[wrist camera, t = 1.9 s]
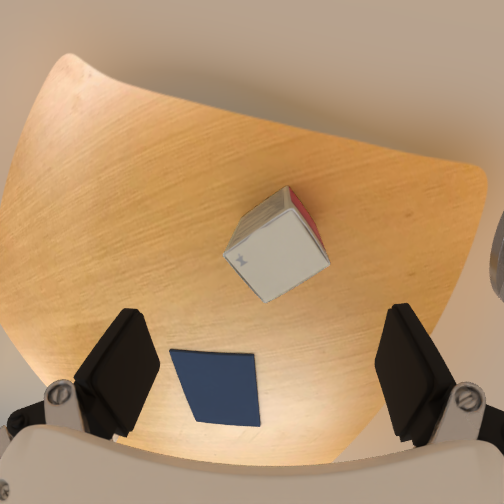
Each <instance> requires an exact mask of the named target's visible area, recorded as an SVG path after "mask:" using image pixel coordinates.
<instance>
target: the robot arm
mask: <svg viewBox="0 0 504 504" xmlns="http://www.w3.org/2000/svg"><path fill="white" fill-rule="evenodd" d="M159 368H160V361H159V358H158V355H157V353H156V350H155V348H154V345H153V342H152V339H151V336H150V334H149V331H148V328H147V325H146V322H145V319H144V316H143V314H142V313H140V312H139V310H138V309H130V308H124V309H123V310H122V311H121V312H120V313H119V315H118V316H117V317H116V319H115V320H114V321H113V322H112V324H111V325H110V326H109V328H108V329H107V330H106V332H105V333H104V334H103V336H102V337H101V339H100V340H99V341H98V343H97V344H96V345H95V347H94V348H93V350H92V351H91V352H90V354H89V355H88V357H87V358H86V359H85V361H84V362H83V364H82V365H81V367H80V368H79V369H78V371H77V372H76V374H75V375H74V379H75V382H74V383H72V382H71V381H69V380H64V379H62V380H57V381H55V382H53V383H52V384H51V385H49V386H48V388H47V389H46V391H45V393H44V400H43V401H41V402H38V403H35V404H33V405H30V406H27V407H25V408H21V409H19V410H16V411H15V412H13V413H12V414H11V415H10V417H9V418H8V421H7V427H6V426H5V425H3V426H2V427H0V504H504V411H502V410H499V409H497V408H494V407H491V406H489V405H487V404H486V397H485V393H484V392H483V390H482V389H481V388H480V387H479V386H478V385H476V384H474V383H471V382H461V383H459V384H456V382H455V380H454V378H453V377H452V375H451V373H450V371H449V369H448V367H447V366H446V364H445V362H444V360H443V358H442V357H441V355H440V353H439V351H438V350H437V348H436V346H435V345H434V343H433V341H432V340H431V338H430V337H429V335H428V333H427V332H426V330H425V329H424V327H423V325H422V324H421V322H420V321H419V319H418V317H417V316H416V314H415V313H414V311H413V310H412V308H411V307H410V305H409V304H408V303H402V304H394V305H393V306H392V308H390V309H388V312H387V316H386V320H385V324H384V328H383V332H382V336H381V340H380V344H379V347H378V351H377V354H376V358H375V369H376V372H377V375H378V378H379V382H380V385H381V388H382V391H383V394H384V398H385V401H386V404H387V408H388V411H389V415H390V418H391V422H392V425H393V429H394V432H395V435H396V436H399V437H400V440H401V442H405V441H409V440H412V442H413V445H414V447H413V449H409V450H405V451H402V452H397V453H392V454H388V455H383V456H378V457H372V458H366V459H360V460H353V461H346V462H339V463H329V464H318V465H303V466H247V465H232V464H221V463H212V462H204V461H197V460H190V459H184V458H178V457H173V456H168V455H163V454H158V453H154V452H149V451H145V450H141V449H137V448H134V447H130V446H126V445H123V444H119V443H116V442H114V441H113V438H112V437H113V435H114V433H115V434H116V435H119V436H123V437H126V438H127V435H128V433H129V432H131V431H132V430H133V429H134V426H135V424H136V422H137V419H138V417H139V415H140V412H141V410H142V407H143V405H144V403H145V401H146V398H147V396H148V394H149V391H150V389H151V387H152V385H153V382H154V380H155V378H156V375H157V373H158V371H159Z"/></svg>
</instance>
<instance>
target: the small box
mask: <svg viewBox="0 0 504 504" xmlns="http://www.w3.org/2000/svg"><path fill="white" fill-rule="evenodd" d="M223 257H224V258H225V259H226V260H227V261H228V263H229V264H230V265H231V266H232V268H233V269H234V270H235V271H236V272H237V274H238V275H239V276H240V277H241V278H242V279H243V281H244V282H245V283H246V284H247V285H248V286H249V287H250V288H251V289H252V291H253V292H254V293H255V294H256V295H257V296H258V297H259V298H260V299H261V300H262V302H264V303H268V302H270V301H272V300H273V299H275V298H277V297H279V296H281V295H283V294H284V293H286V292H288V291H289V290H291V289H293V288H295V287H296V286H298V285H300V284H301V283H303V282H304V281H306V280H308V279H309V278H311V277H312V276H314V275H315V274H317V273H319V272H320V271H322V270H323V269H324V268H326V267H328V266H329V265H330V261H329V258H328V255H327V253H326V250H325V248H324V245H323V243H322V240H321V237H320V235H319V232H318V230H317V227H316V225H315V223H314V221H313V220H312V218H311V217H310V215H309V214H308V212H307V211H306V209H305V208H304V206H303V205H302V203H301V202H300V201H299V199H298V198H297V196H296V195H295V194H294V193H293V191H292V190H291V189H290V187H289V186H285V187H284V188H282V189H281V190H279V191H278V192H276V193H275V194H273V195H272V196H270V197H269V198H268V199H266V200H265V201H263V202H262V203H261V204H259V205H258V206H257V207H255V208H254V209H252V210H251V211H250V212H248V213H247V214H246V215H244V216H243V217H242V218H241V219H240V221H239V223H238V225H237V227H236V229H235V231H234V233H233V235H232V237H231V239H230V241H229V243H228V245H227V247H226V249H225V251H224V253H223Z"/></svg>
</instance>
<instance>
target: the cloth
mask: <svg viewBox="0 0 504 504" xmlns="http://www.w3.org/2000/svg"><path fill="white" fill-rule="evenodd" d="M169 352H170V355H171V358H172V361H173V364H174V366H175V369H176V372H177V375H178V377H179V380H180V383H181V385H182V388H183V391H184V393H185V396H186V398H187V401H188V403H189V406H190V408H191V410H192V413H193V415H194V418H195V420H196V421H197V422H205V423H213V424H224V425H236V426H254V427H260V415H259V404H258V393H257V382H256V372H255V361H254V354H237V353H214V352H199V351H186V350H175V349H170V350H169Z"/></svg>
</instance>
